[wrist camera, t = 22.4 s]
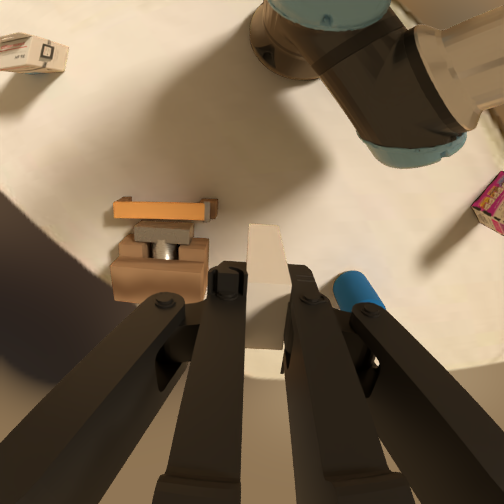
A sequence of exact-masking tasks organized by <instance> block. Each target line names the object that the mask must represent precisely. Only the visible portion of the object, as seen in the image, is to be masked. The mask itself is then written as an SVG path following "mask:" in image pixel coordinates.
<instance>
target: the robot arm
mask: <svg viewBox="0 0 504 504" xmlns="http://www.w3.org/2000/svg"><path fill="white" fill-rule="evenodd" d="M390 3H391V0H263V3H262V4H261V5H260V6H259V7H258V8H257V10H256V11H255V13H254V15H253V17H252V20H251V23H250V42H251V45H252V48H253V51H254V53H255V54H256V56H257V57H258V59H259V60H260V61H261V62H262V63H263V64H264V65H265V66H266V67H267V68H268V69H270V70H271V71H273V72H274V73H276V74H278V75H280V76H283V77H286V78H289V79H294V80H312V79H316V78H320V79H321V81H322V82H323V83H324V85H325V86H326V87H327V89H328V90H329V91H330V93H331V94H332V95H333V97H334V98H335V100H336V101H337V102H338V104H339V105H340V107H341V108H342V109H343V111H344V112H345V114H346V115H347V117H348V118H349V120H350V121H351V123H352V124H353V126H354V127H355V129H356V132H357V135H358V137H359V138H360V139H361V140H362V141H363V142H364V143H365V144H366V145H367V147H368V148H369V150H370V151H371V152H372V154H373V155H374V157H375V158H376V159H377V160H378V161H380V162H381V163H382V164H384V165H386V166H389V167H392V168H399V169H410V168H418V167H423V166H427V165H431V164H434V163H437V162H439V161H440V160H441V158H442V157H450V156H451V155H453V154H454V153H456V152H457V151H458V150H459V149H460V148H461V147H462V146H463V145H464V143H465V141H466V138H467V134H466V133H467V131H471V130H473V129H475V128H476V126H477V124H478V121H479V118H480V116H481V113H482V112H483V110H486V109H489V108H493V107H496V106H499V105H503V104H504V5H503V6H500V7H497V8H495V9H492V10H490V11H487V12H484V13H482V14H480V15H477V16H475V17H472V18H470V19H468V20H465V21H463V22H461V23H458V24H456V25H454V26H452V27H449V28H447V29H445V30H438V29H435V28H432V27H430V26H427V25H424V24H419V25H417V26H415V27H413V28H411V29H409V30H407V29H406V27H405V26H404V25H403V24H402V22H401V21H400V19H399V18H398V17H397V15H396V14H395V13H394V11H393V10H392V9H391V8H390ZM283 343H284V344H285V349H284V355H283V361H282V367H281V373H280V374H284V373H285V382H286V392H287V402H288V412H289V422H290V434H291V444H292V455H293V466H294V477H295V489H296V501H297V504H415V501H414V498H413V495H412V492H411V488H412V490H413V491H414V493H415V494H416V496H417V498H418V499H419V501H420V502H421V504H504V432H503V430H502V429H501V428H500V427H499V426H498V425H497V424H496V423H495V421H494V420H493V419H492V418H491V417H490V416H489V415H488V414H487V413H486V412H485V411H484V410H483V408H482V407H481V406H480V405H479V404H478V403H477V402H476V401H475V400H474V399H473V398H472V396H471V395H470V394H469V393H468V392H467V391H466V390H465V389H464V388H463V387H462V386H461V385H460V384H459V383H458V382H457V381H456V380H455V379H454V377H453V376H452V375H450V374H449V372H448V371H447V370H446V369H445V368H444V367H443V366H442V365H441V364H440V363H439V362H438V361H437V360H436V359H435V358H434V357H433V356H432V355H431V354H430V353H429V352H428V351H427V350H426V349H425V348H424V347H423V346H422V345H421V344H420V343H419V342H418V341H417V340H416V339H415V338H414V337H413V336H412V335H411V334H410V333H409V332H408V331H407V330H406V329H405V328H404V327H403V326H402V325H401V324H400V323H399V322H398V321H397V320H396V319H395V318H394V317H393V316H392V315H391V314H390V313H389V312H388V311H387V310H385V309H384V308H383V307H381V306H379V305H377V304H375V303H371V302H360V303H357V304H355V305H354V306H353V307H352V311H351V312H346V311H341V310H338V309H335V308H332V305H331V303H330V300H329V299H328V298H327V297H326V296H324V295H323V294H321V293H319V290H318V287H317V285H316V282H315V279H314V277H313V274H312V271H311V270H310V269H309V268H308V267H306V266H305V265H295V264H287V261H286V257H285V252H284V248H283V244H282V239H281V235H280V231H279V226H278V225H264V224H249V232H248V247H247V262H234V261H223V262H222V263H220V264H219V265H218V266H215V267H213V268H211V269H210V270H209V271H208V290H207V298H206V299H205V300H203V301H200V302H196V303H189V304H185V301H184V298H183V297H182V296H180V295H179V294H176V293H171V292H159V293H156V294H153V295H151V296H149V297H148V298H147V299H146V300H144V301H143V302H142V303H141V304H140V305H139V306H138V307H137V308H136V309H135V310H134V311H133V312H132V313H131V314H129V316H127V317H126V318H125V319H124V320H123V321H122V322H121V323H120V324H119V325H118V326H117V327H116V328H115V329H114V330H113V331H111V332H110V333H109V334H108V335H107V336H106V337H105V338H104V339H103V340H102V341H101V342H100V343H99V344H98V345H97V346H96V347H95V348H94V349H93V350H92V351H91V352H90V353H89V354H88V355H87V356H86V357H84V358H83V360H81V361H80V363H78V364H77V365H76V366H75V367H74V368H73V369H72V370H71V371H70V372H69V373H68V374H67V375H66V376H65V377H64V378H63V379H62V380H61V381H60V383H58V384H57V385H56V386H55V387H54V388H53V389H52V390H51V391H50V392H49V393H48V394H47V395H46V396H45V397H44V398H43V399H42V400H41V401H40V402H39V403H38V404H37V405H36V406H35V407H34V409H32V411H30V413H29V414H28V415H27V416H26V417H25V418H24V419H23V420H22V421H21V422H20V423H19V424H18V425H17V426H16V427H15V428H14V429H13V430H12V431H11V432H10V433H9V434H8V436H7V437H6V438H5V439H4V440H3V441H2V442H1V443H0V504H98V503H99V502H100V500H101V499H102V497H103V496H104V494H105V493H106V491H107V490H108V488H109V486H110V485H111V483H112V482H113V480H114V479H115V477H116V475H117V474H118V473H119V471H120V470H121V468H122V467H123V465H124V464H125V462H126V461H127V459H128V457H129V456H130V454H131V453H132V451H133V450H134V448H135V447H136V445H137V444H138V442H139V441H140V439H141V437H142V436H143V434H144V433H145V431H146V430H147V428H148V427H149V425H150V424H151V422H152V421H153V419H154V417H155V416H156V414H157V413H158V411H159V410H160V408H161V406H162V405H163V404H164V402H165V400H166V399H167V397H168V396H169V394H170V393H171V391H172V389H173V388H174V386H175V385H176V383H177V382H178V380H179V379H180V377H181V375H182V374H183V372H184V371H185V369H186V367H187V365H188V362H189V361H191V363H190V367H189V371H188V375H187V380H186V384H185V388H184V392H183V397H182V401H181V406H180V410H179V415H178V419H177V423H176V428H175V433H174V437H173V442H172V447H171V451H170V456H169V461H168V465H167V469H166V472H165V474H163V475H160V477H159V479H158V481H157V484H156V488H155V491H154V496H153V501H152V504H241V503H240V502H241V482H240V472H241V442H242V413H243V412H242V411H243V383H244V356H245V348H253V349H274V350H282V349H283ZM375 357H377V359H378V361H379V363H380V364H379V366H377V365H376V364H375V363H374V360H375ZM379 438H380V440H381V441H382V443H383V445H384V446H385V448H386V449H387V451H388V452H389V454H390V455H391V457H392V459H393V460H394V462H395V463H396V465H397V466H398V468H399V470H400V471H401V473H400V472H391V470H389V468H388V466H387V463H386V459H385V456H384V453H383V450H382V447H381V444H380V440H379ZM410 487H411V488H410Z"/></svg>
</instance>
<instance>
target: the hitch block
mask: <svg viewBox="0 0 504 504" xmlns="http://www.w3.org/2000/svg"><path fill="white" fill-rule="evenodd" d="M204 201H209V202H210V219H215V218H216V216H217V210H218V199H206V198H202V199H201V201H200V202H199V203H204ZM117 202H132V197H122V198H121V199H119V200H117ZM208 259H209V239H207V238H193V239H192V241H191V243H190V245H186V244H181V245H180V247H179V260H170V259H156V258H152V250H151V242H139V241H135V240H134V234H129V235H127V236H126V237H125V238H124V239H123V240H122V241H121V242H120V243H119V257H118V258H117V259H116V260H115V261H114V262H113V263H112V264H111V265H110V270H111V278H112V286H113V293H114V300H115V301H123V302H131V303H140V304H141V303H142V302H143V301H144V300H146V299H147V298H148V297H149V296H151V295H153V294H156V293H159V292H171V293H176V294H179V295H180V296H182V297H183V298H184V301H185V304H189V303H196V302H200V301H203V299H204V295H205V292H206V288H207V285H208Z"/></svg>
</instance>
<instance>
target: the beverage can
mask: <svg viewBox="0 0 504 504" xmlns="http://www.w3.org/2000/svg"><path fill="white" fill-rule="evenodd" d="M333 293H334V296H335V298H336V300H337V303H338V305H339V307H340V310H341V311H346V312H351V311H352V307H353V306H354V305H355V304H357V303H360V302H371V303H375V304H377V305H379V306H381V307H383V308H384V309H385V310H386V308H385V306H384V304H383V303H382V301H381V300H380V298H379V297H378V295H377V294H376V292H375V290H374V289H373V287H372V286H371V284H370V283H369V281H368V280H367V278H366V277H365V276H364V275H363V274H362V273H361V272H358V271H347V272H345V273H343V274H341V275H340V276H339V277H338V278H337V279H336V281H335V283H334V286H333Z"/></svg>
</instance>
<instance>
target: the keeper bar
mask: <svg viewBox="0 0 504 504" xmlns="http://www.w3.org/2000/svg"><path fill="white" fill-rule="evenodd" d="M113 208H114V218H145V219H182V220H203V222H210V202H209V201H204V203H180V202H114V203H113Z"/></svg>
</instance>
